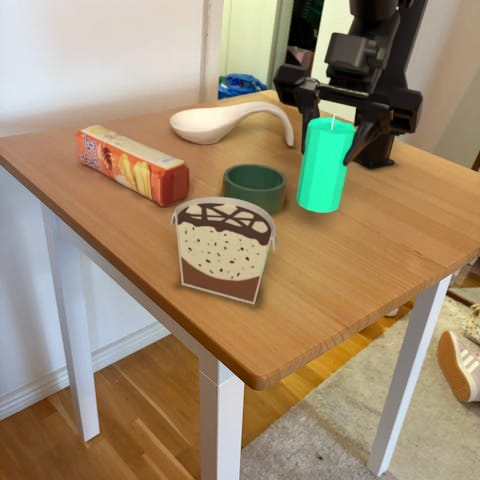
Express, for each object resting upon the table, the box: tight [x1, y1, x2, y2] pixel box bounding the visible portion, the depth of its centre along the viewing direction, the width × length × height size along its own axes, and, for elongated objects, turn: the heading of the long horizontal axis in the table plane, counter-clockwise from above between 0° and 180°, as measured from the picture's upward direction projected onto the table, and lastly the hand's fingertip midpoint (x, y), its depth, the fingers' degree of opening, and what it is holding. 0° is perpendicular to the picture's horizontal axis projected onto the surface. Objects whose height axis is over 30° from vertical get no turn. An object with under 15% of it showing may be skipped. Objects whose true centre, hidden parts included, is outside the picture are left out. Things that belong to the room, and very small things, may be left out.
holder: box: [221, 163, 288, 215], centre depth 82 cm, size 10×10×4 cm
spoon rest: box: [169, 100, 295, 147], centre depth 100 cm, size 24×12×7 cm, turn 95°
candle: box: [295, 112, 357, 213], centre depth 68 cm, size 6×6×12 cm
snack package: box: [75, 124, 191, 208], centre depth 83 cm, size 21×7×7 cm, turn 48°
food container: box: [170, 196, 278, 306], centre depth 63 cm, size 12×6×10 cm, turn 71°
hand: (323, 159), depth 67 cm, fingers closed on candle, 5 cm apart
